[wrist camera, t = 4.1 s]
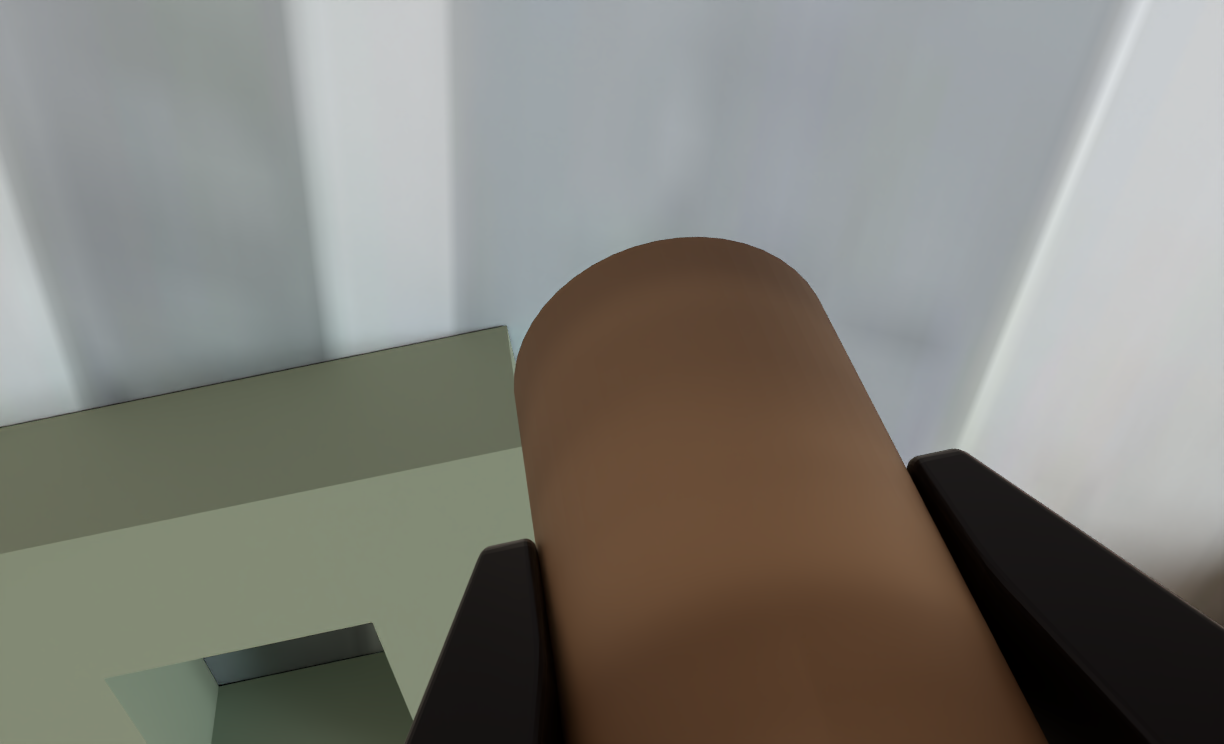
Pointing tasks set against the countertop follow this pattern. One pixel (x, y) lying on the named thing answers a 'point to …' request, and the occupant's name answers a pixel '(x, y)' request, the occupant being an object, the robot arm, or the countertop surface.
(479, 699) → the robot arm
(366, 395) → the hole block
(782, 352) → the long pin
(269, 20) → the countertop surface
